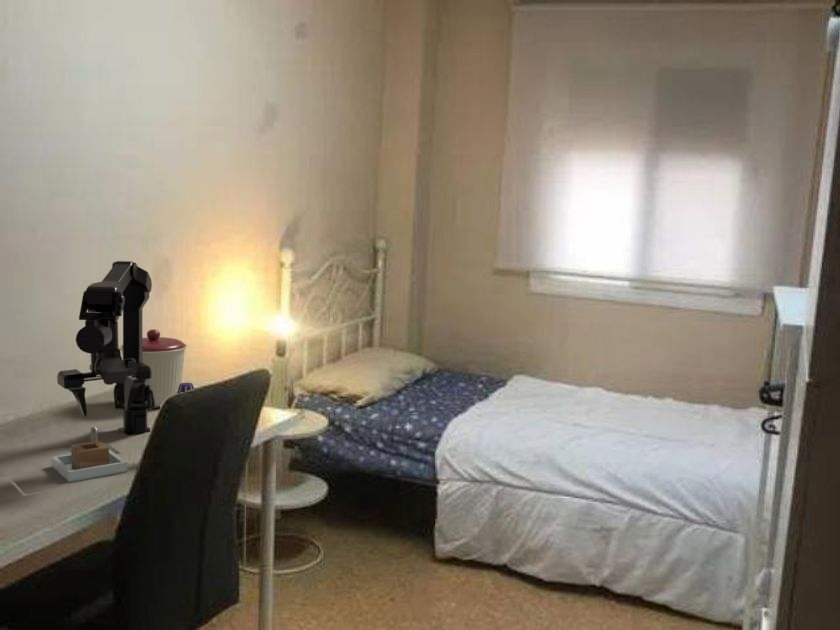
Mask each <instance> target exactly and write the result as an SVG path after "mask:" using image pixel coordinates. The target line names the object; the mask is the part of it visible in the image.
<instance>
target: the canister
mask: <svg viewBox="0 0 840 630" xmlns="http://www.w3.org/2000/svg"><path fill="white" fill-rule="evenodd" d="M118 348H119V349H120V352H121V354H122V355H121V357H123V343H122V344H121V345H119V346H118ZM187 348H188V345H187V343H184V342H183V341H182V340H180V339H177V338H172V337H166V336H165V337H162V336H161V332H160V330H158V329H149V330H148V331H147V332H146V337H142V363H144V364H146V365H148V366H149V367H150V368H151V372H152V378H151V379H149V385H151V387H152V390H153V393H154V396H155V408H161V407H160V405H161V404H162V402H163V401H164V400H165V399H166V398H167V397H168V396H170V395H172V394H176V393H177V392H178V388H179V385H180V384H181V383H183V382H182V381H183V380H182V379H183V372H184V363H185V354H186V353H185V352H186V349H187ZM146 403H147V401H146ZM155 408H154V409H155Z"/></svg>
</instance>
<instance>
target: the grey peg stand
mask: <svg viewBox="0 0 840 630" xmlns="http://www.w3.org/2000/svg"><path fill="white" fill-rule="evenodd" d="M96 441H98V427H96V426H93V427H90V442H96ZM103 444H104V445H106V446H107V447H108V448H109V450H111V451H112V452H113V453H115V454H116V455H120V454H121V452H120V451H119V450H117V449H116V448H115V447H113V446H112V445H110V444H109V443H103ZM67 450H68V451H69V452H70V453H71V448H70V449H69V448H68V449H67Z"/></svg>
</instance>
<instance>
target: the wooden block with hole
mask: <svg viewBox="0 0 840 630" xmlns="http://www.w3.org/2000/svg"><path fill="white" fill-rule="evenodd" d="M104 444H105V443H104V442H101V441H100V440H97V441H96V442H91V441H90V442H84V443H78V444H71V447H70V449H71V452H70V454H71V456H72V468H73V469H74V470H77V469H83V468H89V467H95V466H101V465H107V464H109V448H108V447H107V446H106V445H104Z"/></svg>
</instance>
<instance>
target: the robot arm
mask: <svg viewBox="0 0 840 630" xmlns="http://www.w3.org/2000/svg"><path fill="white" fill-rule="evenodd" d="M152 284H153V281H152V278H151V276H150V274H149V272H148V270H145V269H143V268H141V267H139V266H138V264H137V263H136V262H134V261H131V260H130V261H129V260H127V261H126V260H117V261H113V262H112V264H111V268H110V269H109V271H108V273H107V274H106V275H105V276H104V278H103V279H102V280H101V281H98V282H94V283H93V282H92V283H91V284H90V285H88V286H87V288H86V289H85V290H84V291H83V293H82V299H81V304H80V309H79V310H80V311H79V315H78V320H79V321H84V323H85V326H83V327H82V328H80V329H79V330H78V331H77V333H76V336H75V343H76V345H77V347H78V348H79V350H81V351H82V352H84V353H86V354H90V365H89V370H90V371H89V372H81V371H80V370H78V369H77V368H76V369H67V370H60V371H59V372H58V374H57V375H56V378H57V380H56V381H57V384H58V385H59V386H60V387H62V388H63V389H65V390H67V391H69V392H71V393H72V395H73V396H74V398H75V400H76V402H77V405H78V407H79V409H80V411H81V414H82V417H85V418H86V417H87V415H88V413H87V403H86V401H87V400H86V394H85V393H86V387H84V386H83V385H84V384H85V382H92V381H100V380H101V381H102V382H103V383H104V384H105V385H107V386H108V385H109V386H110V385H113V384H115V385H114V388H113V399H114V408H115V410H122V417H123V418H122V420H123V421H122V422H123V424H122V425H123V426H122V427H119V428H118V431H120V432H122V433H123V434H125V435H127V436H132V435H138V434H146V433H151V432H150V429H151V428H150V427H148V410H149V411H150V410H151V409H155V396H154V393H153V390H152V387H151V385H149V379H151V378H152V372H151V368H150V367H149V366H148V365H146V364H144V363H142V338H143V309H144V307H145V305H146V304H147V302H148V301H149V299H150V293H151V292H152V288H153V285H152ZM120 317H122V344H123V356H122V355H121V354H122V351H121V350H120V349H119V322H118V320H119V319H120ZM146 401H147V403H146Z"/></svg>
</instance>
